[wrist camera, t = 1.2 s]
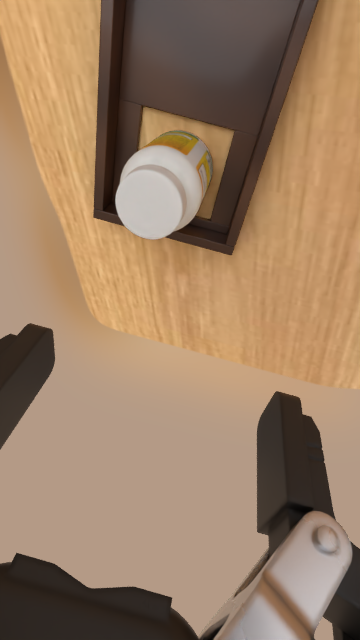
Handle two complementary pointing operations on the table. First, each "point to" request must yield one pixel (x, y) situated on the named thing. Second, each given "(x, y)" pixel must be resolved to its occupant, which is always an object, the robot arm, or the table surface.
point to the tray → (196, 90)
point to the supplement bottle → (164, 185)
